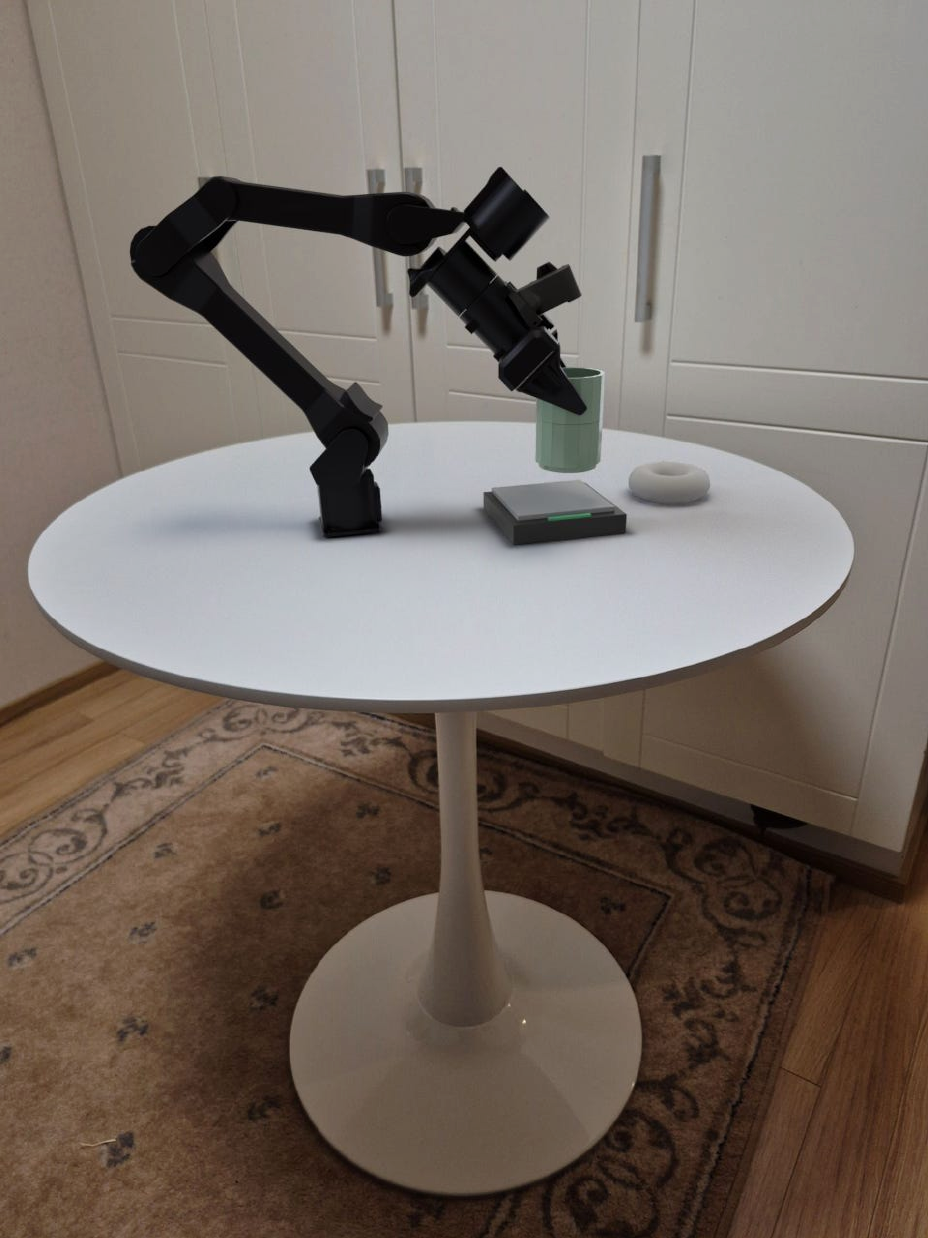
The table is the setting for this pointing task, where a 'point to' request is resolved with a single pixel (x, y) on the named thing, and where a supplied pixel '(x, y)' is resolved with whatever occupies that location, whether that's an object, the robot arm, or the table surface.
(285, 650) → the table surface
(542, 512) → the scale
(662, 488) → the donut
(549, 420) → the pale green cup
